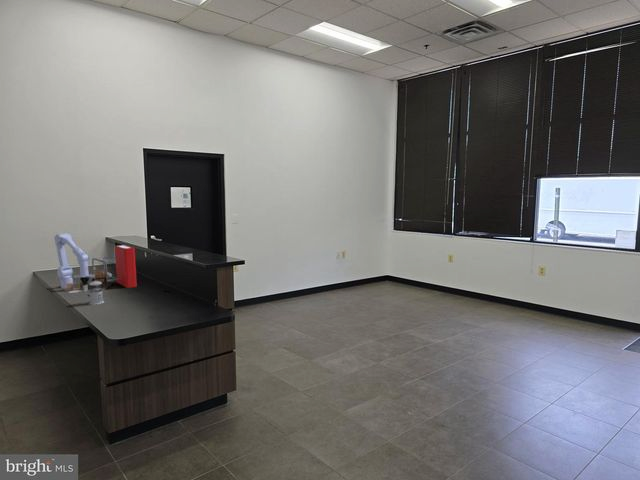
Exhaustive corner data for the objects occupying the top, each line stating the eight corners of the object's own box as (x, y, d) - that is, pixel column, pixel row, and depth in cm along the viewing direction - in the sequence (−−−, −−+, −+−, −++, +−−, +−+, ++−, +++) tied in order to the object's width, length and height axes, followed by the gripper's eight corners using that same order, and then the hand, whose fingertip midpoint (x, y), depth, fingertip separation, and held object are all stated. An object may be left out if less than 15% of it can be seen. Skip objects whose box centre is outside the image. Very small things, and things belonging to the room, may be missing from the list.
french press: (86, 305, 288) (83, 269, 285) (92, 300, 299) (89, 266, 296) (102, 304, 290) (99, 268, 287) (107, 299, 301) (104, 265, 298)
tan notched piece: (67, 290, 331) (66, 283, 330) (83, 289, 332) (82, 282, 332) (63, 292, 325) (63, 284, 324) (80, 291, 327) (79, 284, 326)
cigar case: (92, 284, 350) (91, 270, 349) (92, 284, 352) (91, 270, 350) (106, 283, 356) (105, 269, 354) (106, 282, 357) (105, 268, 356)
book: (117, 282, 358) (114, 245, 354) (127, 281, 363) (124, 244, 359) (126, 288, 337) (124, 248, 333) (137, 286, 342) (134, 247, 338)
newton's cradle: (119, 280, 367) (117, 260, 365) (106, 282, 359) (105, 261, 357) (105, 275, 387) (104, 256, 385) (93, 277, 379) (91, 257, 377)
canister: (68, 288, 330) (67, 283, 330) (74, 288, 331) (74, 283, 330) (65, 290, 326) (65, 284, 325) (71, 290, 326) (71, 284, 326)
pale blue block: (71, 292, 324) (70, 285, 323) (88, 291, 325) (87, 284, 325) (67, 294, 318) (67, 286, 317) (84, 293, 320) (84, 286, 319)
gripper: (71, 271, 323) (73, 288, 325) (91, 270, 325) (93, 287, 327) (75, 269, 330) (77, 286, 332) (95, 268, 332) (96, 285, 333)
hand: (85, 286), depth 329 cm, fingers closed
